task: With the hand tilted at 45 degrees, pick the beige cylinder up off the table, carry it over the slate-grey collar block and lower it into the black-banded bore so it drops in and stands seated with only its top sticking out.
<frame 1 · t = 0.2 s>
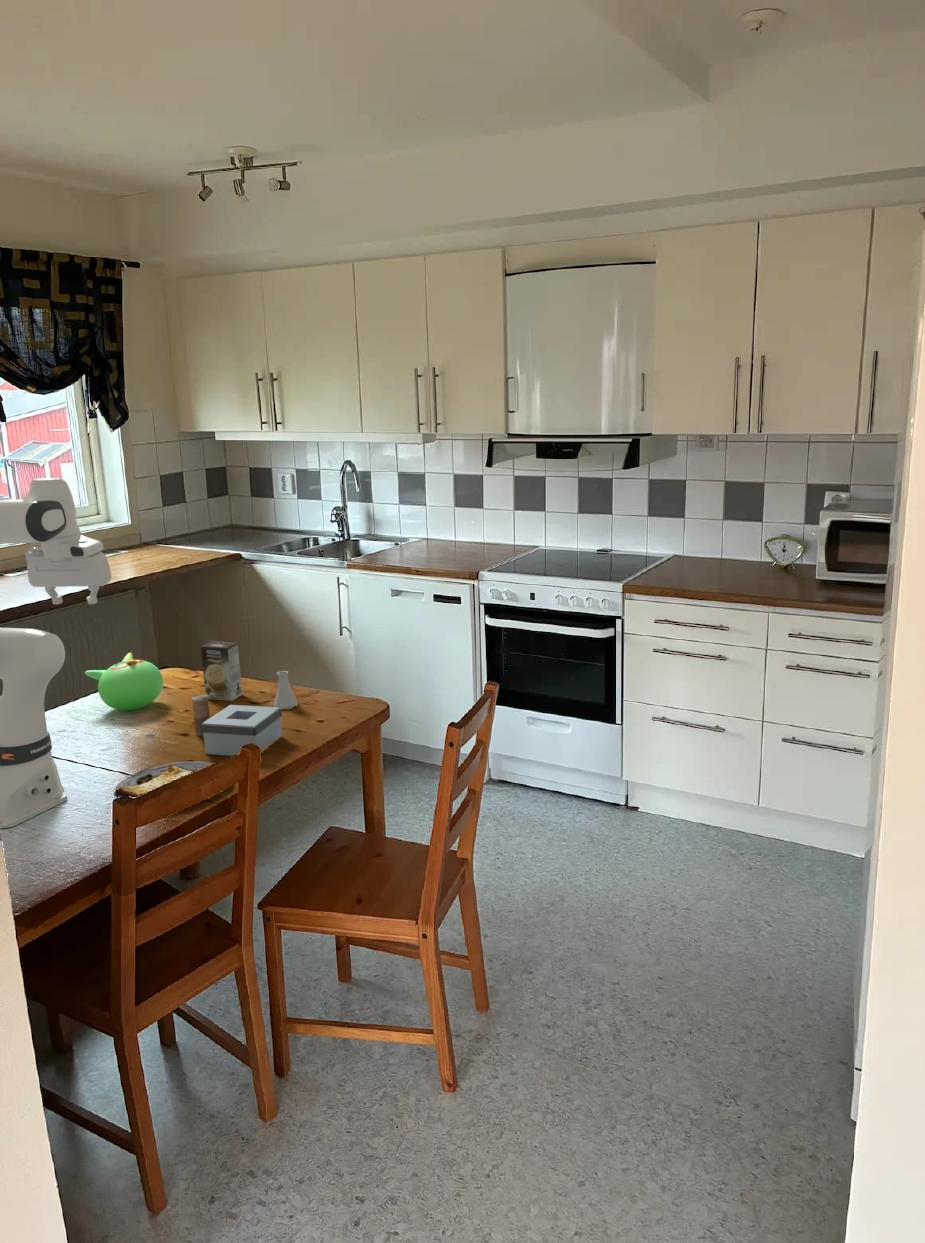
hand: (75, 603, 223), 39 cm above the table, tool pointing down, fingers open, 8 cm apart
collar block: (244, 745, 237), on the table
coffee box: (224, 697, 277), on the table
food plate: (173, 791, 212), on the table
toy bird: (132, 708, 270), on the table
beige cylinder: (203, 733, 247), on the table
flask: (285, 707, 266), on the table
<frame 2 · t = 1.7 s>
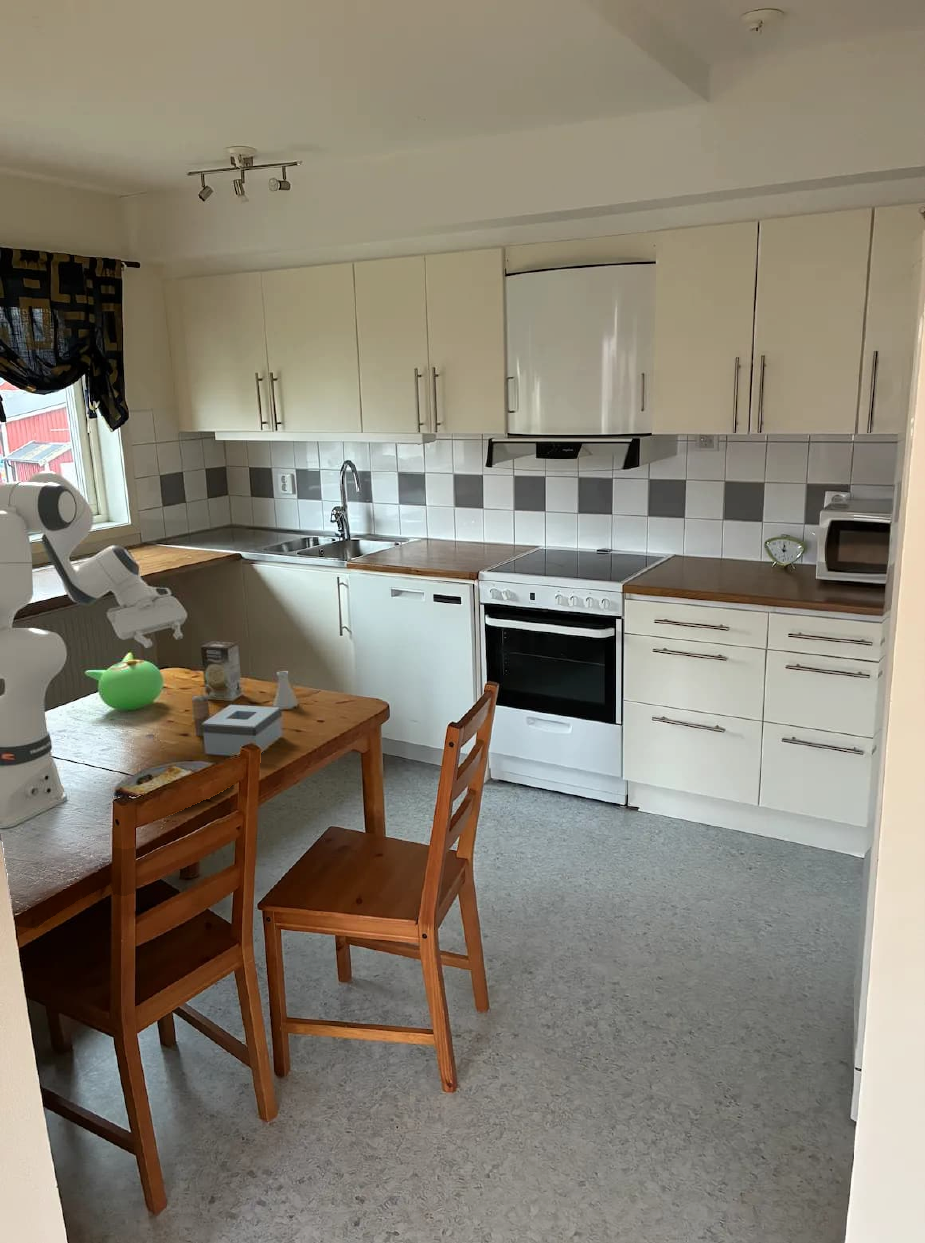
hand: (164, 642, 249), 23 cm above the table, tool tilted 45°, fingers open, 8 cm apart
nothing on the table moved.
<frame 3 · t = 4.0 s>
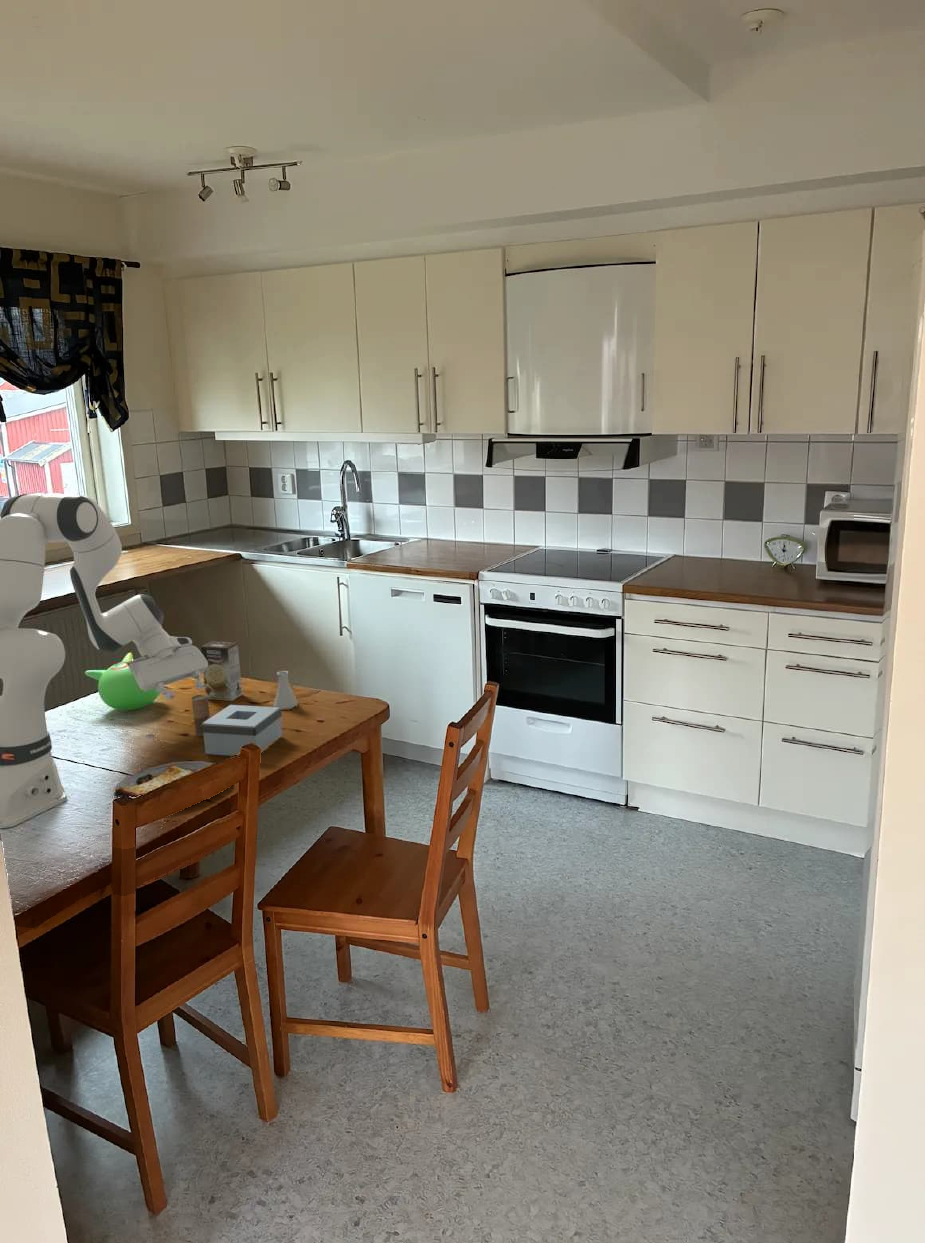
hand: (186, 692, 248), 10 cm above the table, tool tilted 45°, fingers open, 8 cm apart
nothing on the table moved.
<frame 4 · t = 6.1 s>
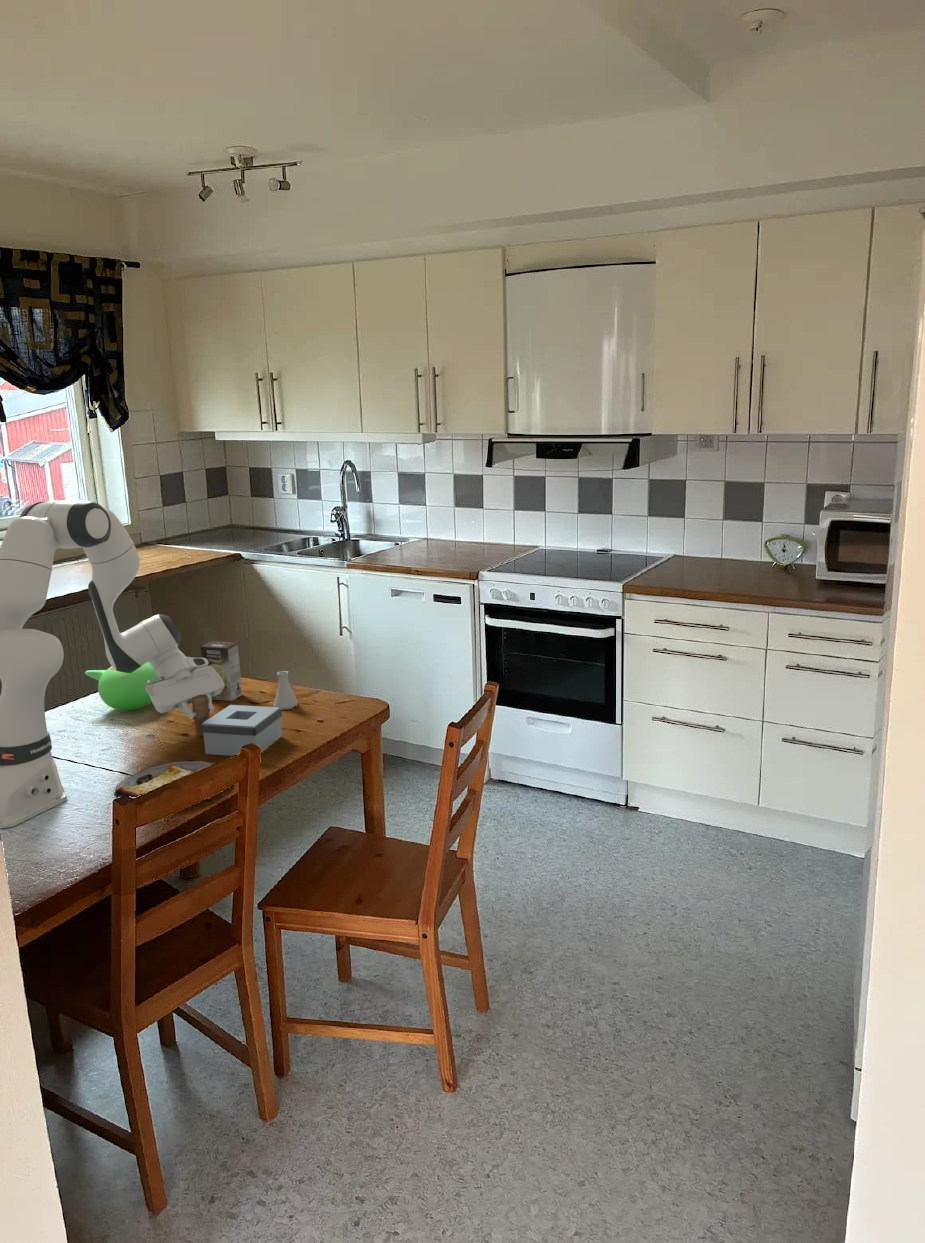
hand: (203, 714, 245), 5 cm above the table, tool tilted 45°, fingers closed on beige cylinder, 4 cm apart
beige cylinder: (203, 733, 247), on the table, touching gripper
everything else where it was.
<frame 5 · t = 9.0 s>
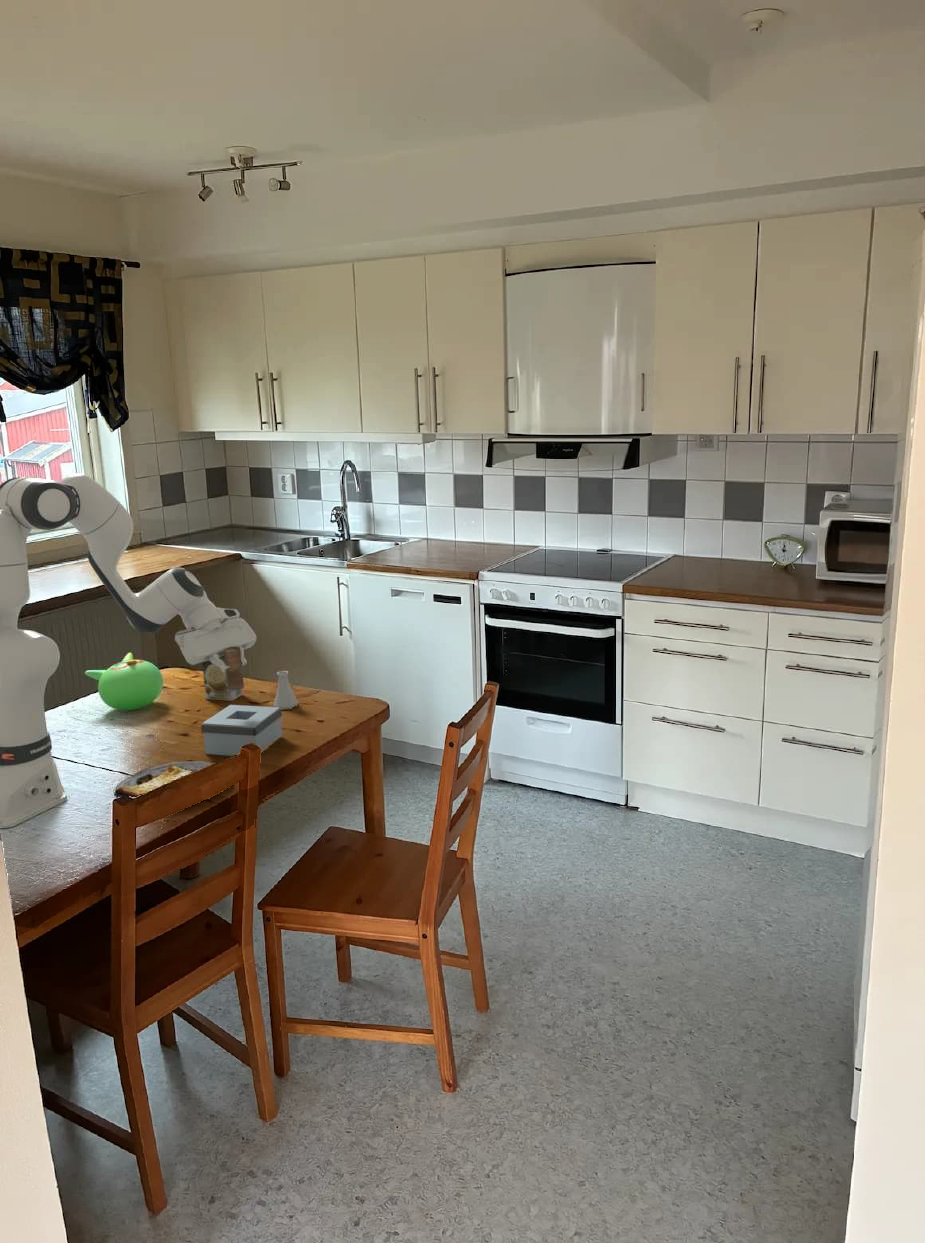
hand: (235, 667, 233), 20 cm above the table, tool tilted 45°, fingers closed on beige cylinder, 4 cm apart
beige cylinder: (235, 687, 235), point 15 cm above the table, touching gripper
everything else where it was.
when the fingers open (10 cm above the table, at t = 11.9 s): beige cylinder drops 5 cm, resting in collar block.
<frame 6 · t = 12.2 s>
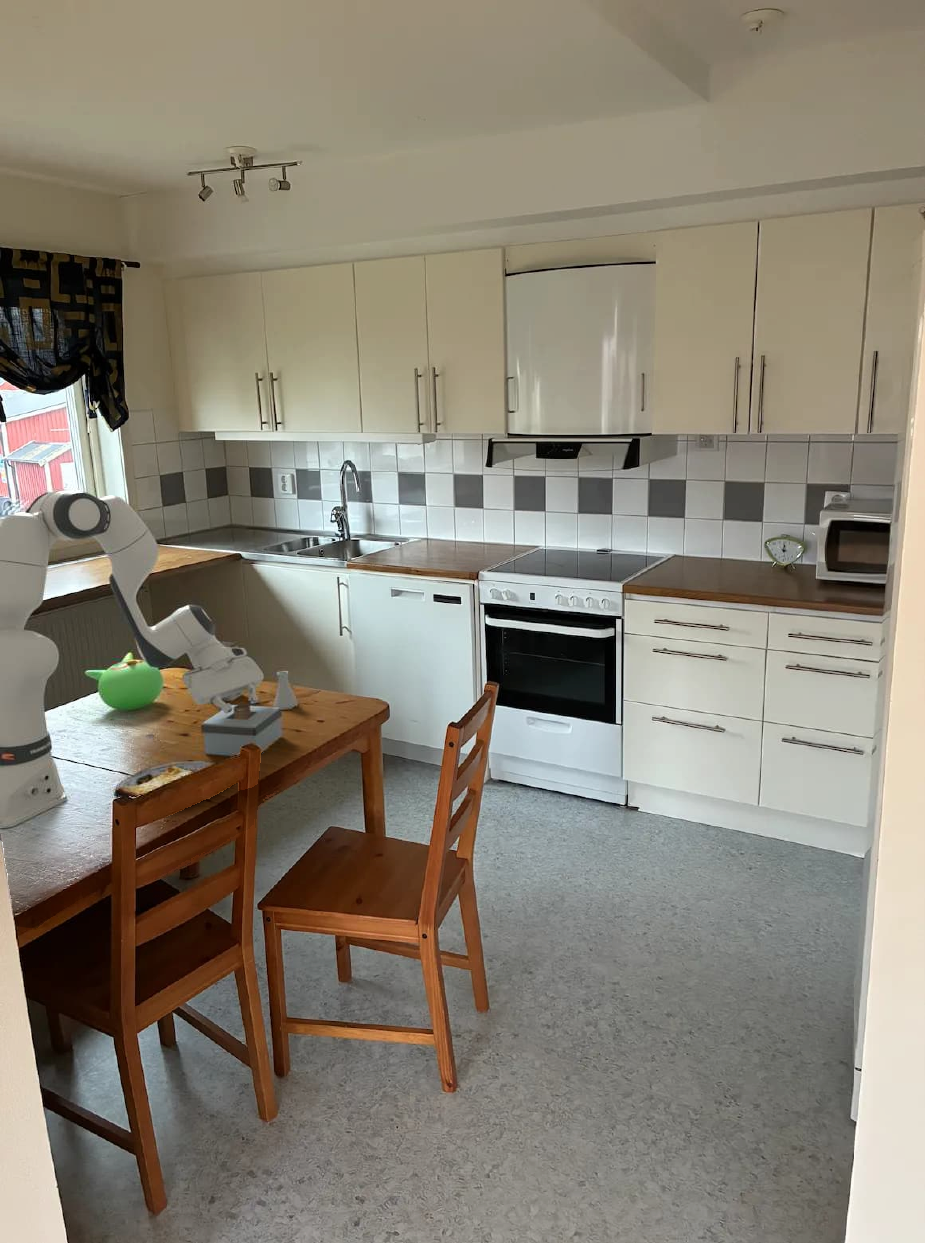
hand: (242, 706, 235), 10 cm above the table, tool tilted 45°, fingers open, 7 cm apart
beige cylinder: (244, 745, 237), resting in collar block
everything else where it was.
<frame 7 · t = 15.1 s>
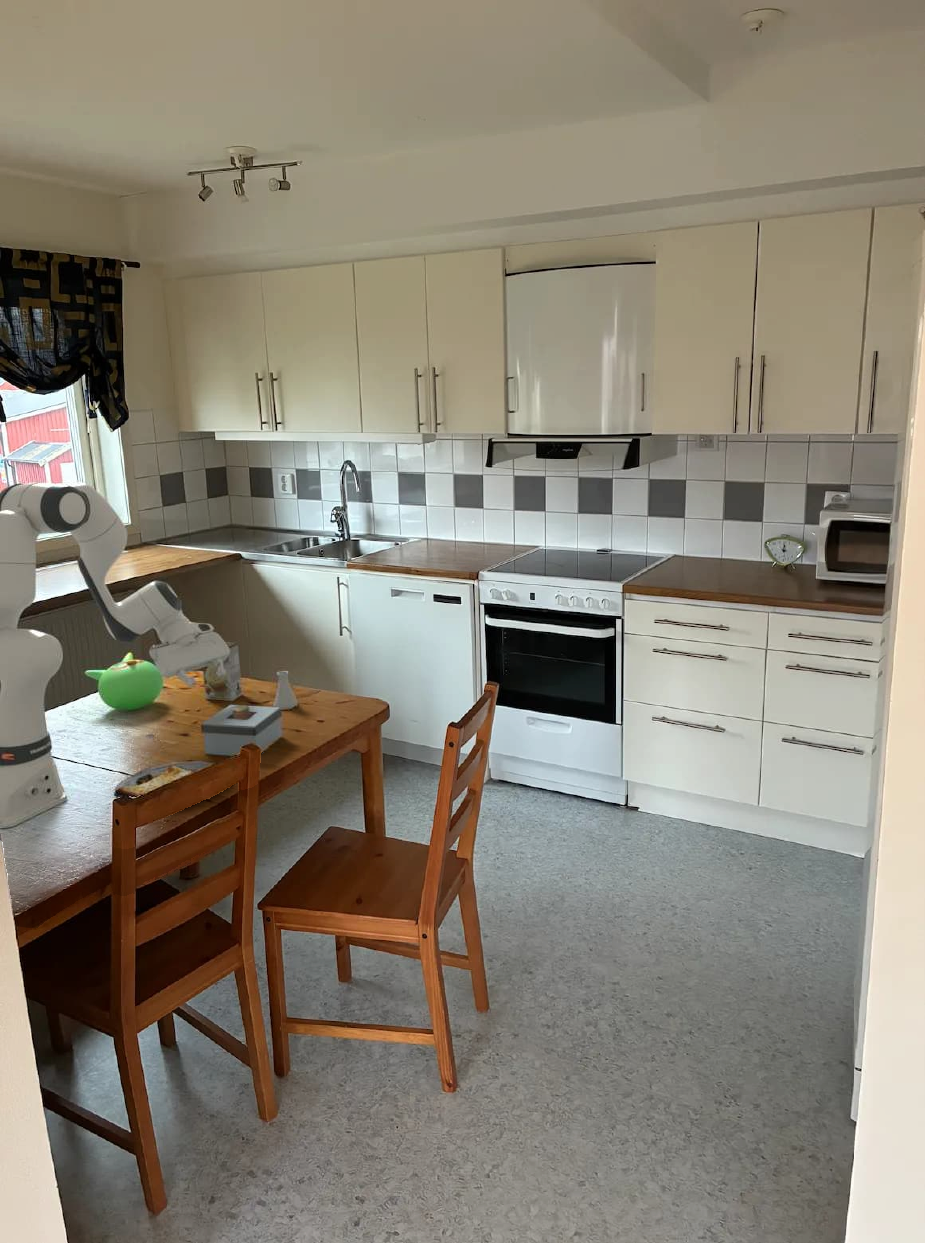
hand: (208, 680, 241), 15 cm above the table, tool tilted 45°, fingers open, 8 cm apart
nothing on the table moved.
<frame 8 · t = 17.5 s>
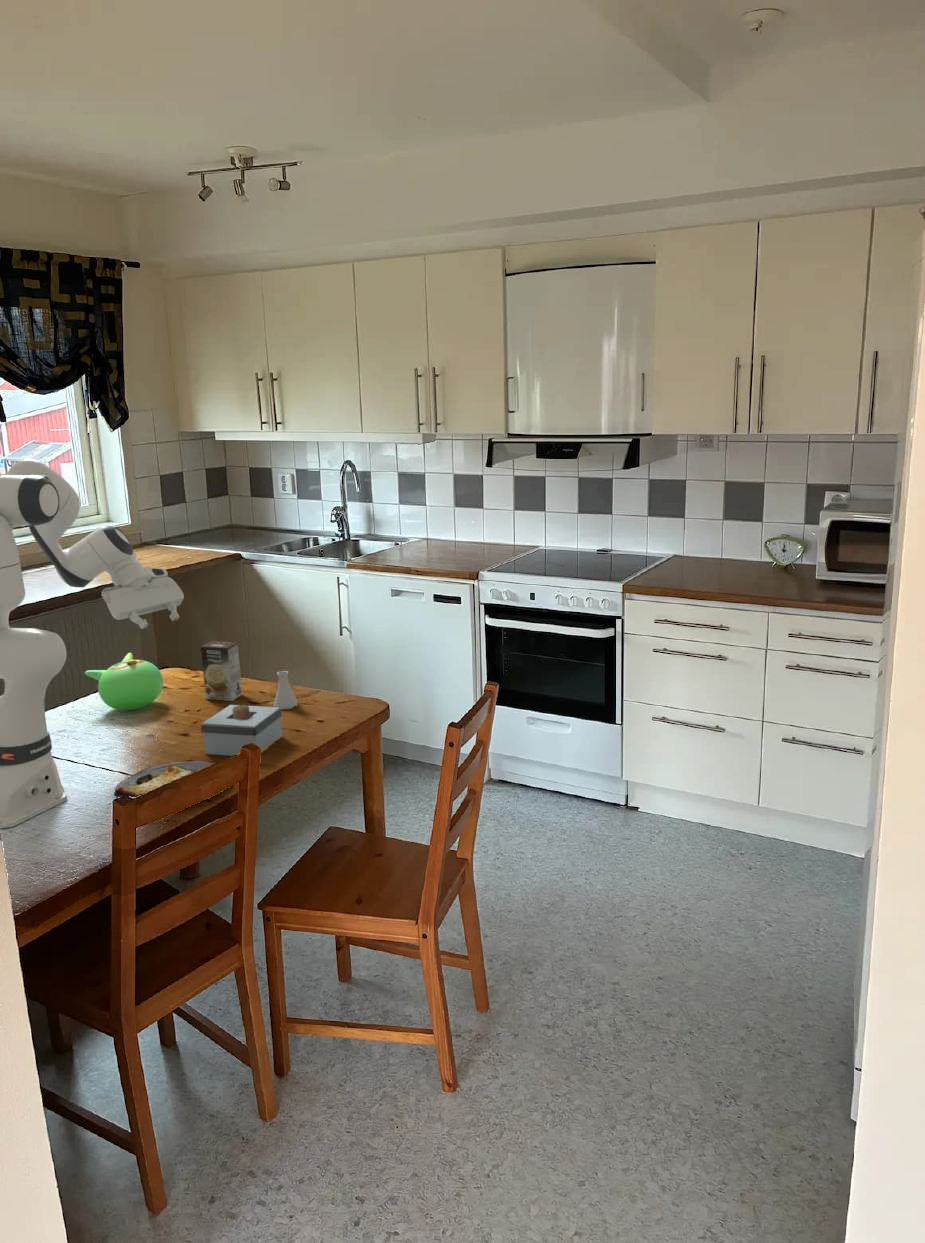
hand: (161, 623, 243), 29 cm above the table, tool tilted 45°, fingers open, 8 cm apart
nothing on the table moved.
at the end: beige cylinder 0.1 cm off-centre on the collar block, point 0.0 cm above the collar block's base; beige cylinder tilted 0°; the gripper is holding nothing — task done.
